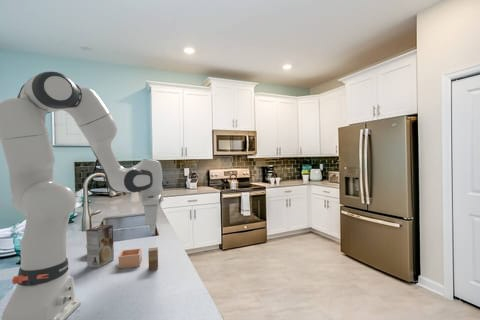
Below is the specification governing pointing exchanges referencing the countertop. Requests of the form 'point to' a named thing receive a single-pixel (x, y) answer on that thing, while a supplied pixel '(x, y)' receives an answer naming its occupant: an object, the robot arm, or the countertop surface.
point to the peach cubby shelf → (130, 258)
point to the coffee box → (99, 245)
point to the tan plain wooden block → (153, 258)
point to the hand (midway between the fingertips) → (153, 230)
